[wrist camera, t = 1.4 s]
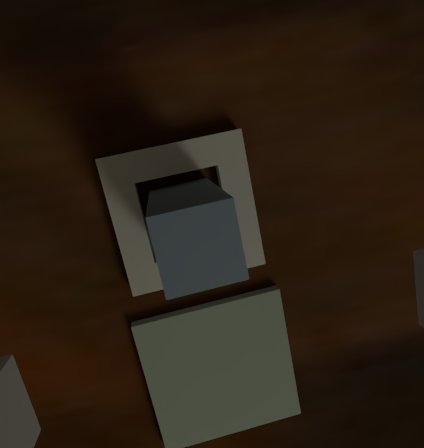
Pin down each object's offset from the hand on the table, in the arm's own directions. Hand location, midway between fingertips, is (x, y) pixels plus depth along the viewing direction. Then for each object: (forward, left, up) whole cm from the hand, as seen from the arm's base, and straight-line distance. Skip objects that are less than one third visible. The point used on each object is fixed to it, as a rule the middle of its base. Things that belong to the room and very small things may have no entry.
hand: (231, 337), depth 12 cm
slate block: (0, 0, -22) cm, 22 cm away
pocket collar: (0, 0, -21) cm, 21 cm away
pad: (+16, 0, -22) cm, 27 cm away
